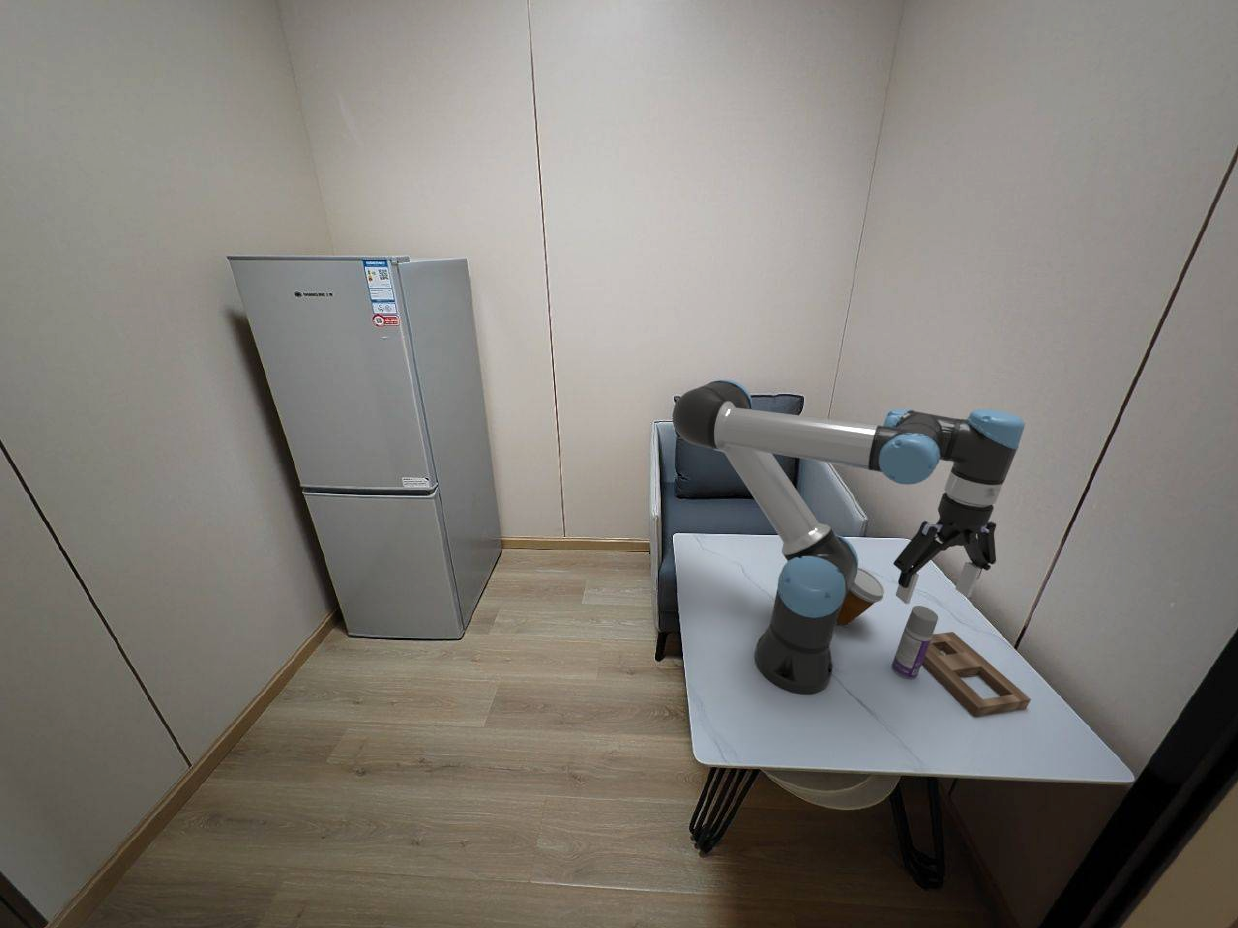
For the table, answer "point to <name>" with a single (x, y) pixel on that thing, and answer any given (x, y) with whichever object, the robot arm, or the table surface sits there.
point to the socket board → (970, 663)
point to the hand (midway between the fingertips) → (932, 596)
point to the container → (914, 642)
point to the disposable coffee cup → (860, 597)
